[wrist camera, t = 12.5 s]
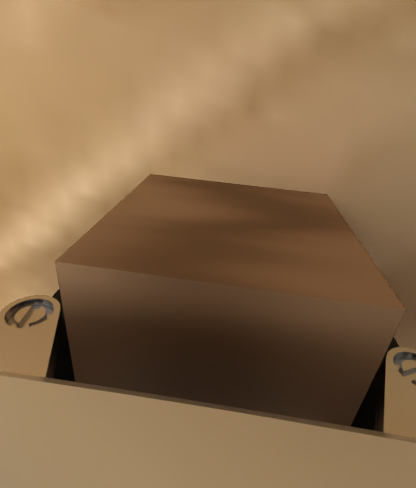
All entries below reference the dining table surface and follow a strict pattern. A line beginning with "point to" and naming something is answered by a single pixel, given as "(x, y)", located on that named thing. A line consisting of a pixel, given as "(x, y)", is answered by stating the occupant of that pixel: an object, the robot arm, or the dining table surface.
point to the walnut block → (228, 300)
